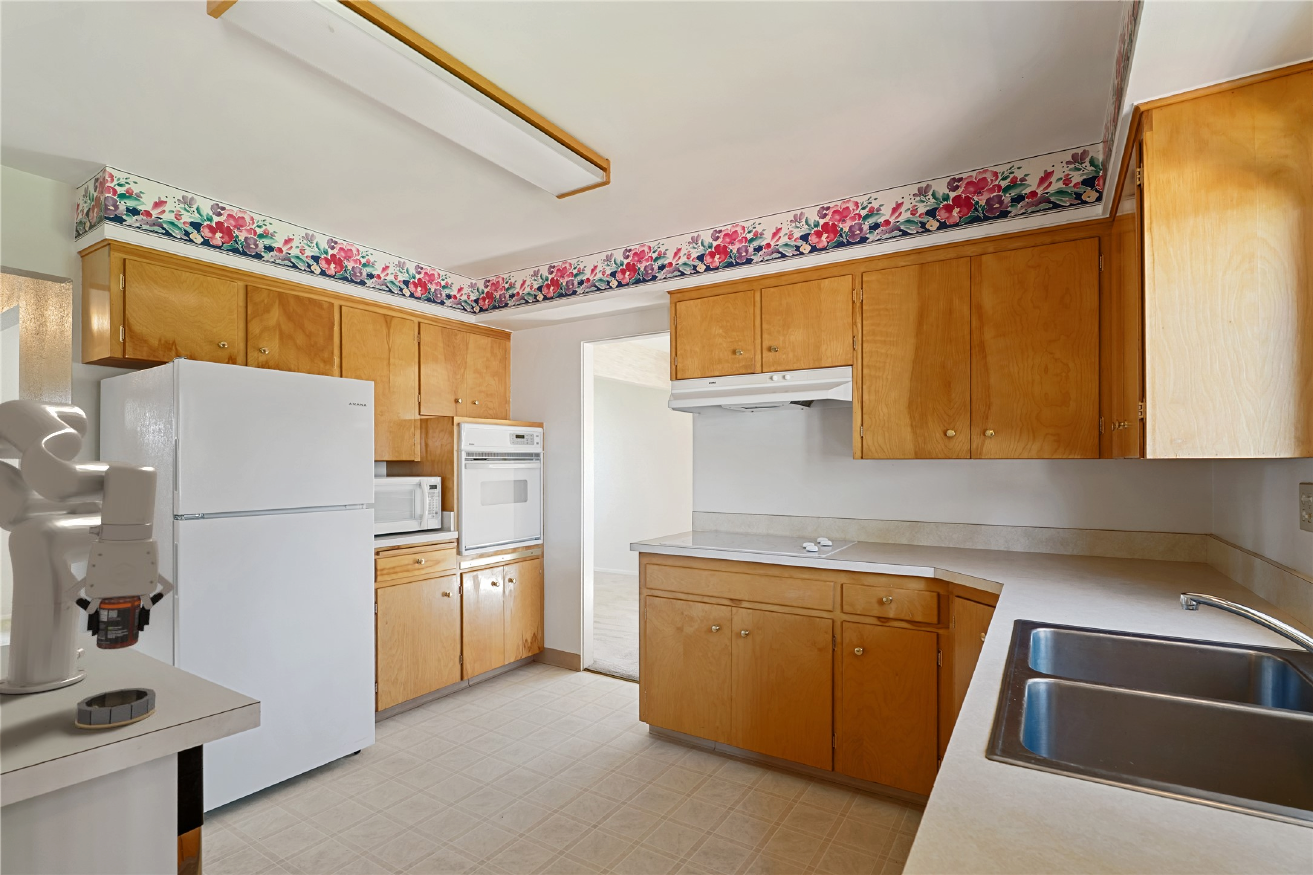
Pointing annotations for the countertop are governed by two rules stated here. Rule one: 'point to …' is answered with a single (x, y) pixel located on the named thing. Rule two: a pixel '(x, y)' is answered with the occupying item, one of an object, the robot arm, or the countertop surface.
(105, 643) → the supplement bottle
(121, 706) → the mount collar
